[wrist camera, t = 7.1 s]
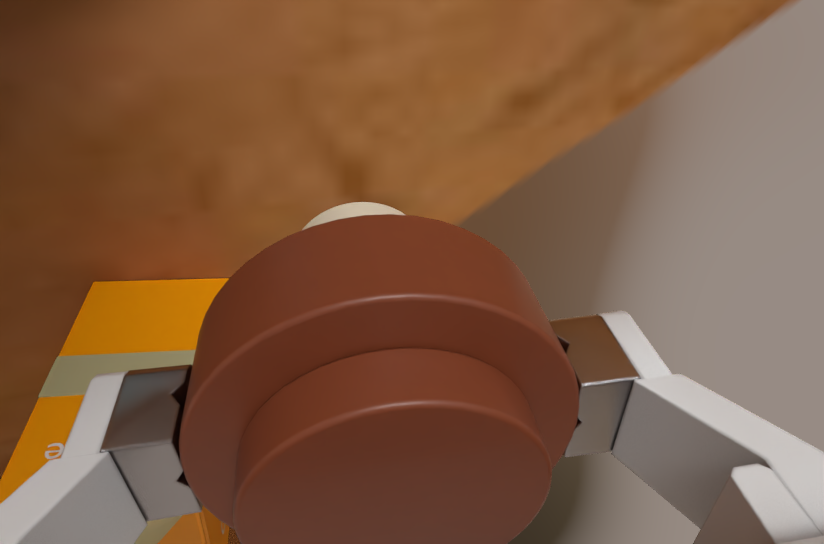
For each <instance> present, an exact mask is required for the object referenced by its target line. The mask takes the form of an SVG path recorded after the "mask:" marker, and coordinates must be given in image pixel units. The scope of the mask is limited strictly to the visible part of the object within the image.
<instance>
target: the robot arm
mask: <svg viewBox="0 0 824 544" xmlns="http://www.w3.org/2000/svg"><path fill="white" fill-rule="evenodd" d="M548 321H549V323H550V325H551V327H552V329H553V330H554V332H555V334H556V336H557V338H558V340H559V342H560V344H561V346H562V347H563V349H564V351H565V353H566V355H567V357H568V359H569V361H570V363H571V365H572V367H573V369H574V371H575V375H576V379H577V383H578V387H579V412H578V419H577V424H576V427H575V430H574V433H573V436H572V439H571V441H570V443H569V444H568V446H567V448H566V450H565V452H564V454H563V455H564V457H570V456H579V455H587V454H594V453H602V452H611V451H612V453H611V454H612V455H613V456H614V457H616V458H617V459H618V460H619V461H620V462H622V463H623V464H624V465H625V466H626V467H627V468H629V469H630V470H631V471H632V472H633V473H635V474H636V475H637V476H638V477H640V478H641V479H642V480H643V481H644V482H645V483H647V484H648V485H649V486H650V487H651V488H653V489H654V490H655V491H656V492H657V493H658V494H660V495H661V496H662V497H663V498H664V499H666V500H667V501H668V502H669V503H670V504H671V505H673V506H674V507H675V508H676V509H677V510H679V511H680V512H681V513H682V514H684V515H685V516H686V517H687V518H688V519H689V520H691V521H692V522H693V523H694V524H695V525H697V526H698V527H699V528H700V529H701V530H700V532H699V534H698V535H697V537H696V539H695V541H694V543H693V544H824V452H823V451H821V450H819V449H817V448H815V447H813V446H812V445H810V444H808V443H806V442H805V441H803V440H801V439H799V438H797V437H795V436H793V435H792V434H790V433H788V432H786V431H784V430H783V429H781V428H779V427H777V426H775V425H773V424H772V423H770V422H768V421H766V420H764V419H763V418H761V417H758V416H757V415H755V414H753V413H752V412H750V411H748V410H746V409H744V408H742V407H741V406H739V405H737V404H735V403H733V402H731V401H730V400H728V399H726V398H724V397H722V396H720V395H719V394H717V393H715V392H713V391H711V390H710V389H708V388H706V387H704V386H702V385H700V384H699V383H697V382H695V381H693V380H691V379H689V378H688V377H686V376H684V375H682V374H674V375H673V374H672V373H671V372H670V371H669V369H668V367H667V366H666V365H665V363H664V362H663V361H662V359H661V358H660V356H659V355H658V354H657V352H656V351H655V349H654V348H653V347H652V345H651V344H650V342H649V341H648V340H647V338H646V337H645V335H644V334H643V333H642V331H641V330H640V328H639V327H638V326H637V324H636V323H635V321H634V320H633V319H632V317H631V316H630V315H629V313H627V312H625V311H624V310H622V311H615V312H608V313H601V314H596V315H586V316H579V317H571V318H563V319H556V320H548ZM192 366H193V365H191V364H189V365H179V366H169V367H159V368H149V369H138V370H129V371H126V372H115V373H104V374H97V375H96V376H95V377H94V378H93V379H92V380H91V381H90V383H89V385H88V388H87V390H86V393H85V396H84V398H83V401H82V403H81V406H80V408H79V411H78V413H77V416H76V419H75V421H74V424H73V426H72V429H71V431H70V434H69V436H68V439H67V442H66V444H65V447H64V449H63V452H62V454H61V457H60V458H59V459H52V460H49V461H48V462H47V463H46V464H45V465H43V466H42V467H41V468H40V469H39V470H38V471H37V472H36V473H34V474H33V475H32V476H31V477H30V478H29V479H28V480H27V481H25V482H24V483H23V484H22V485H21V486H20V487H19V488H18V489H16V490H15V491H14V492H13V493H12V494H11V495H10V496H9V497H7V498H6V499H5V500H4V501H3V502H2V503H1V504H0V544H134V543H135V541H136V540H137V539H138V537H139V536H140V535H141V533H142V532H143V530H144V529H145V528H146V526H147V525H148V524H147V521H153V520H159V519H164V518H170V517H176V516H181V515H187V514H193V513H198V512H202V507H203V504H202V503H201V502H200V501H199V500H198V498H197V497H196V496H195V495H194V493H193V491H192V489H191V488H190V486H189V484H188V482H187V480H186V478H185V475H184V471H183V468H182V465H181V462H180V454H179V435H180V428H181V422H182V417H183V412H184V406H185V401H186V396H187V391H188V386H189V381H190V376H191V371H192Z"/></svg>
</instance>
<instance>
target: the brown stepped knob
mask: <svg viewBox="0 0 824 544" xmlns="http://www.w3.org/2000/svg"><path fill="white" fill-rule="evenodd" d="M578 412H579V387H578V383H577V379H576V375H575V371H574V369H573V367H572V365H571V363H570V361H569V359H568V357H567V355H566V353H565V351H564V349H563V347H562V346H561V344H560V342H559V340H558V338H557V336H556V334H555V332H554V330H553V329H552V327H551V325H550V323H549V321H548V319H547V317H546V315H545V314H544V312H543V310H542V308H541V306H540V304H539V302H538V300H537V298H536V296H535V295H534V293H533V291H532V289H531V287H530V285H529V283H528V281H527V279H526V278H525V276H524V275H523V274H522V272H521V271H520V270H519V268H518V267H517V266H516V264H515V263H514V262H513V261H512V260H510V258H509V257H507V256H506V255H505V254H504V253H503V252H502V251H501V250H500V249H498V248H497V247H495V246H494V245H492V244H491V243H490V242H488V241H487V240H485V239H483V238H482V237H480V236H478V235H475V234H473V233H471V232H469V231H467V230H465V229H463V228H460V227H457V226H454V225H451V224H448V223H445V222H442V221H439V220H434V219H429V218H424V217H418V216H409V215H405V214H403V213H402V212H400V211H398V210H396V209H394V208H392V207H389V206H386V205H383V204H378V203H371V202H354V203H348V204H343V205H339V206H336V207H333V208H331V209H329V210H326V211H325V212H323V213H321V214H319V215H318V216H316V217H315V218H314V219H312V220H311V221H310V222H309V223H308V224H307V225H306V226H305V227H304V228H303V230H302V231H299V232H297V233H294V234H292V235H289V236H287V237H285V238H284V239H282V240H280V241H278V242H276V243H274V244H273V245H271V246H269V247H267V248H265V249H264V250H263V251H261V252H260V253H259V254H257V255H256V256H254V257H253V258H252V259H250V260H249V261H248V262H246V263H245V264H244V265H243V266H242V267H241V268H240V269H239V270H238V271H237V272H236V273H235V274H234V275H232V276H231V277H230V278H229V279H228V280H227V282H226V283H225V284H224V286H223V287H222V288H221V289H220V291H219V292H218V293H217V295H216V296H215V297H214V299H213V301H212V303H211V305H210V306H209V308H208V310H207V312H206V314H205V316H204V319H203V322H202V325H201V328H200V331H199V335H198V340H197V345H196V350H195V355H194V361H193V366H192V371H191V376H190V381H189V386H188V391H187V396H186V401H185V406H184V412H183V417H182V422H181V428H180V435H179V454H180V462H181V465H182V468H183V471H184V475H185V478H186V480H187V482H188V484H189V486H190V488H191V489H192V491H193V493H194V495H195V496H196V497H197V498H198V500H199V501H200V502H201V503H202V504H203V506H204V507H205V508H206V509H207V510H208V511H209V512H211V513H212V514H213V515H214V516H215V517H216V518H218V519H219V520H220V521H222V522H223V523H225V524H226V525H228V526H229V527H231V528H233V529H234V530H235V532H236V535H237V537H238V539H239V541H240V543H241V544H507V543H509V542H510V541H511V540H513V539H514V538H515V537H516V536H517V535H518V534H519V533H521V532H522V531H523V530H524V529H525V528H526V527H527V525H529V524H530V522H531V521H532V520H533V519H534V518H535V516H536V515H537V513H538V512H539V511H540V509H541V508H542V506H543V504H544V502H545V500H546V498H547V495H548V492H549V489H550V485H551V476H552V469H553V468H554V467H555V465H556V464H557V462H558V461H559V460H560V458H561V457H562V455H563V454H564V452H565V450H566V448H567V446H568V444H569V443H570V441H571V439H572V436H573V433H574V430H575V427H576V424H577V419H578Z"/></svg>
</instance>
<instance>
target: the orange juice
mask: <svg viewBox="0 0 824 544" xmlns="http://www.w3.org/2000/svg"><path fill="white" fill-rule="evenodd" d="M228 279H229V278H218V279H180V280H143V281H105V282H93V284H92V286H91V288H90V290H89V292H88V294H87V297H86V299H85V301H84V303H83V305H82V307H81V309H80V312H79V314H78V316H77V318H76V320H75V322H74V324H73V326H72V329H71V331H70V333H69V335H68V337H67V339H66V341H65V344H64V346H63V348H62V350H61V352H60V354H59V356H57V358H56V360H55V362H54V364H53V366H52V368H51V370H50V373H49V375H48V377H47V379H46V381H45V383H44V385H43V387H42V389H41V392H40V394H39V396H38V398H39V399H38V401H37V403H36V405H35V407H34V410H33V412H32V414H31V416H30V418H29V420H28V422H27V425H26V427H25V429H24V431H23V433H22V435H21V437H20V439H19V442H18V444H17V446H16V448H15V450H14V452H13V454H12V456H11V459H10V461H9V463H8V465H7V467H6V469H5V471H4V474H3V476H2V478H1V480H0V504H1V503H2V502H3V501H4V500H5V499H6V498H7V497H9V496H10V495H11V494H12V493H13V492H14V491H15V490H16V489H18V488H19V487H20V486H21V485H22V484H23V483H24V482H25V481H27V480H28V479H29V478H30V477H31V476H32V475H33V474H34V473H36V472H37V471H38V470H39V469H40V468H41V467H42V466H43V465H45V464H46V463H47V462H48V461H49V460H52V459H59V458H60V457H61V454H62V452H63V449H64V447H65V444H66V442H67V439H68V436H69V434H70V431H71V429H72V426H73V424H74V421H75V419H76V416H77V413H78V411H79V408H80V406H81V403H82V401H83V398H84V396H85V393H86V390H87V388H88V385H89V383H90V381H91V380H92V379H93V378H94V377H95V376H96V375H97V374H104V373H115V372H126V371H129V370H138V369H149V368H159V367H169V366H179V365H189V364H191V365H193V361H194V355H195V350H196V345H197V340H198V335H199V331H200V328H201V325H202V322H203V319H204V316H205V314H206V312H207V310H208V308H209V306H210V305H211V303H212V301H213V299H214V297H215V296H216V295H217V293H218V292H219V291H220V289H221V288H222V287H223V286H224V284H225V283H226V282H227V280H228ZM147 524H148V525H147V526H146V528H145V529H144V530H143V532H142V533H141V535H140V536H139V537H138V539H137V540H136V541H135V543H134V544H228V537H229V526H228V525H226V524H225V523H223V522H222V521H220V520H219V519H218V518H216V517H215V516H214V515H213V514H212V513H211V512H209V511H208V510H207V509H206V508H205V507H204V506H203V507H202V512H198V513H193V514H187V515H181V516H176V517H170V518H164V519H159V520H153V521H147Z"/></svg>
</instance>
